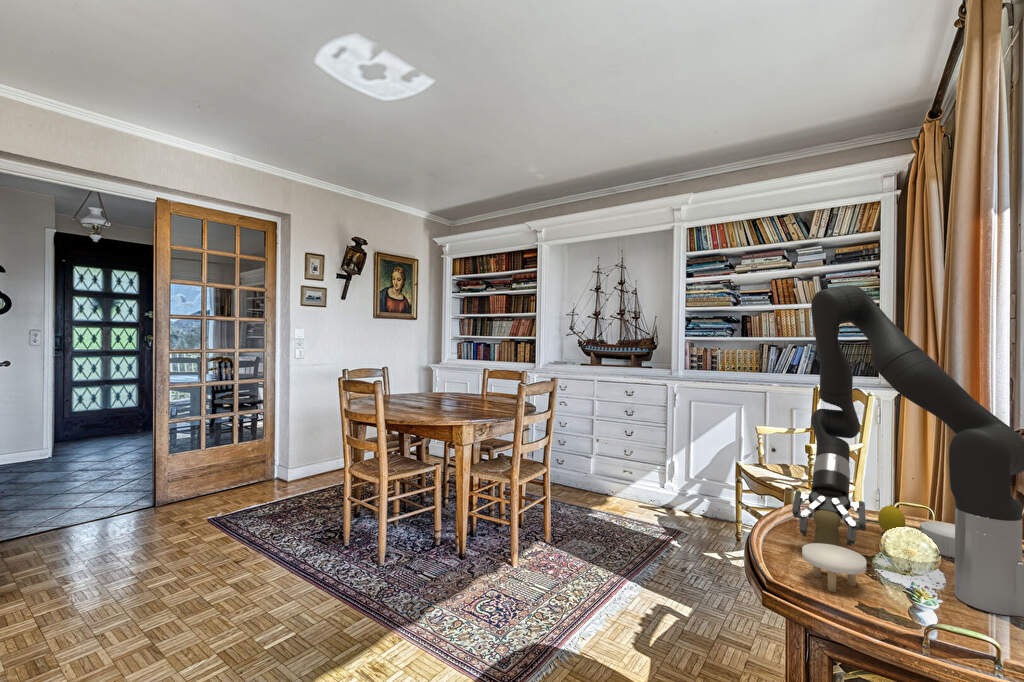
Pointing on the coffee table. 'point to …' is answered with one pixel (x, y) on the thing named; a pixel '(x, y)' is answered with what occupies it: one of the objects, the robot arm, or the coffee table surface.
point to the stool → (834, 562)
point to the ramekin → (941, 536)
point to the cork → (827, 527)
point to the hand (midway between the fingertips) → (826, 539)
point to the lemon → (891, 518)
